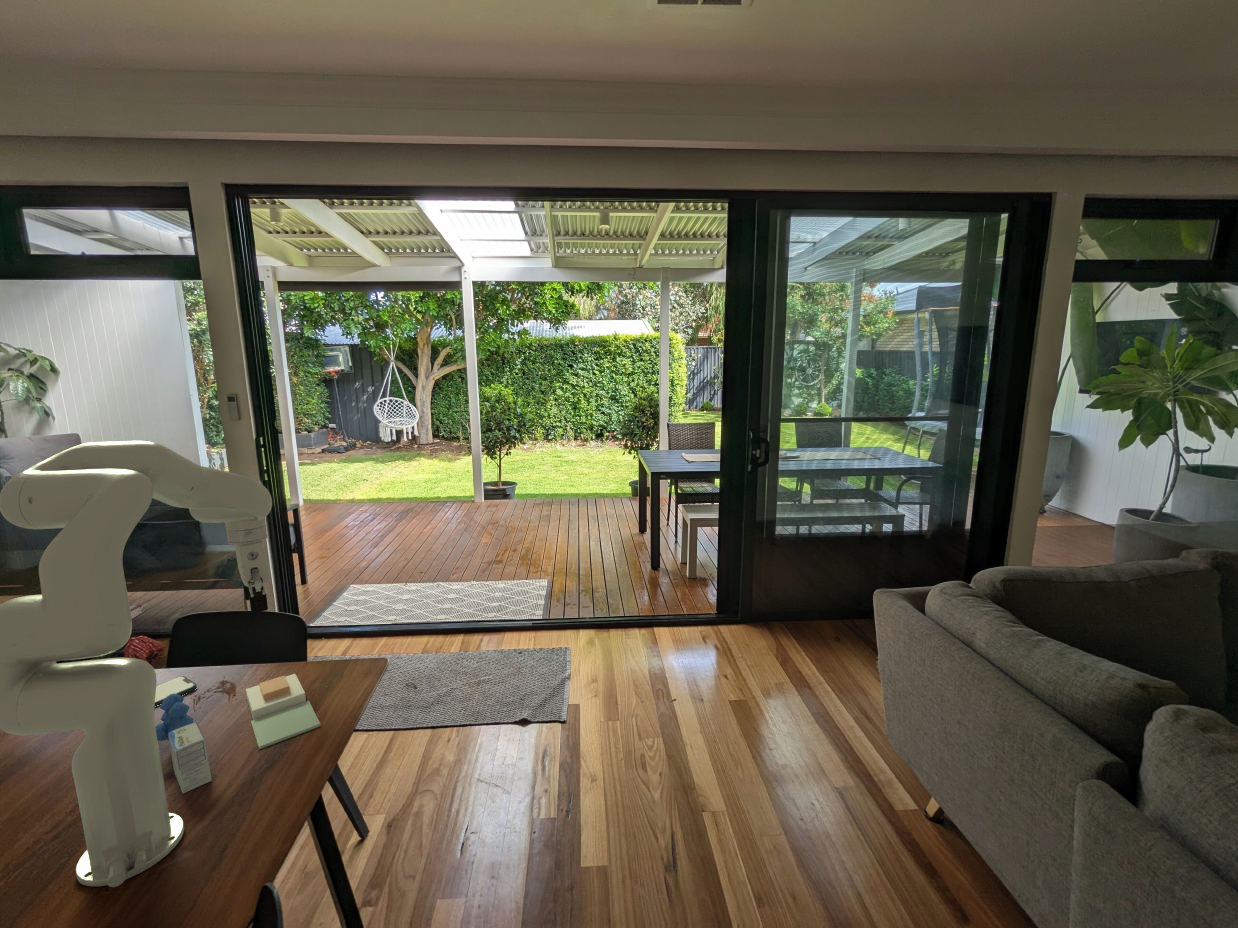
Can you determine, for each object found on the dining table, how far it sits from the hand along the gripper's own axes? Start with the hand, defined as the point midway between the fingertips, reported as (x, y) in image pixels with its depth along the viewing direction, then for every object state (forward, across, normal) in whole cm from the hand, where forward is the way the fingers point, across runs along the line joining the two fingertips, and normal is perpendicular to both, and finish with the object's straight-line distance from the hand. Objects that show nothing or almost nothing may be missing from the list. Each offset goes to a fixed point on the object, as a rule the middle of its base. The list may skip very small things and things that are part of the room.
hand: (256, 604), depth 127 cm
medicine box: (+21, -26, +16) cm, 37 cm away
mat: (+21, -20, -1) cm, 29 cm away
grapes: (+21, -16, +17) cm, 32 cm away
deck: (+21, -8, -1) cm, 22 cm away
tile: (+18, -8, -1) cm, 20 cm away
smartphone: (+22, +12, +21) cm, 32 cm away
